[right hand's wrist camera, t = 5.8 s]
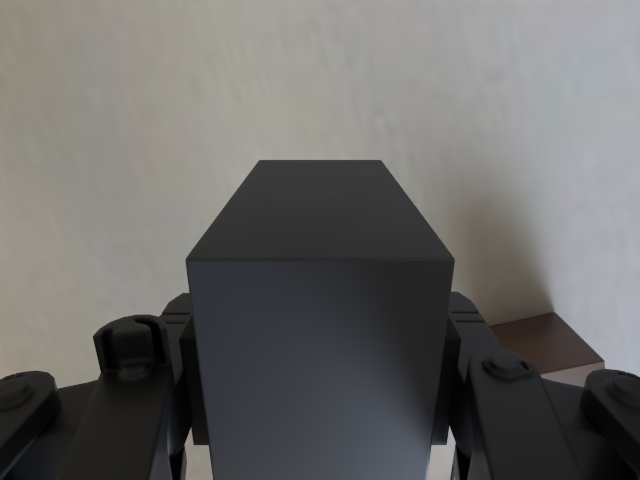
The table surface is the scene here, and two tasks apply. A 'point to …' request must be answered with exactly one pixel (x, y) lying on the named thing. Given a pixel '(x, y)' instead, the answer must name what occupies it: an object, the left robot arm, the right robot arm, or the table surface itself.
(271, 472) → the bar
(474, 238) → the table surface
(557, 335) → the metal cube
